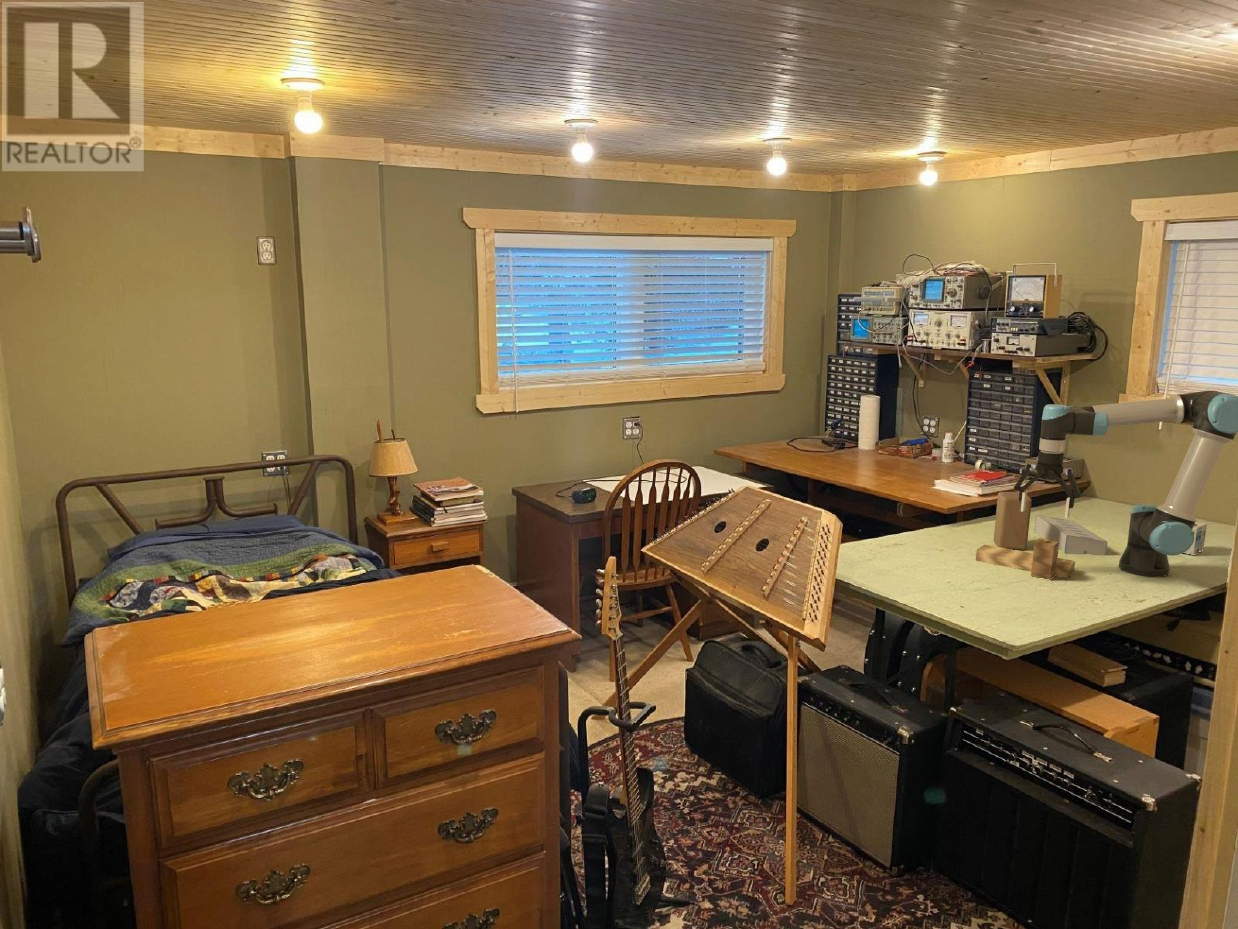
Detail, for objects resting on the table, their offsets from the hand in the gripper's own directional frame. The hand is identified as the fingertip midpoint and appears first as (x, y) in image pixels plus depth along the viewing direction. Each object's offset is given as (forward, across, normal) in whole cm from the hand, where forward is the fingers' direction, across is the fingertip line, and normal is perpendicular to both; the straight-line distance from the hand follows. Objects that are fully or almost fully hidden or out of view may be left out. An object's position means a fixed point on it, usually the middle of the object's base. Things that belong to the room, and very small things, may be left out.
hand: (1044, 514), depth 292 cm
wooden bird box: (+21, -2, -3) cm, 21 cm away
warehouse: (+22, +1, -50) cm, 54 cm away
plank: (+21, +6, -7) cm, 23 cm away
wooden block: (+21, +17, -30) cm, 40 cm away
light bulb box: (+21, -37, -67) cm, 79 cm away
